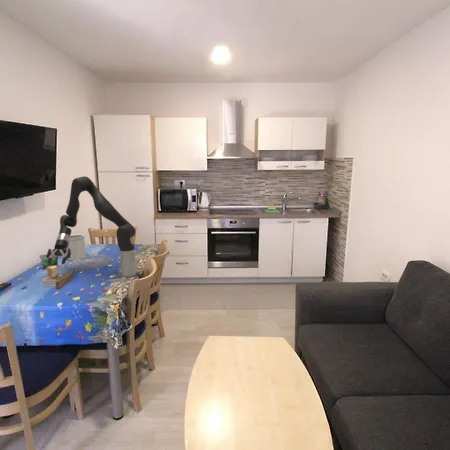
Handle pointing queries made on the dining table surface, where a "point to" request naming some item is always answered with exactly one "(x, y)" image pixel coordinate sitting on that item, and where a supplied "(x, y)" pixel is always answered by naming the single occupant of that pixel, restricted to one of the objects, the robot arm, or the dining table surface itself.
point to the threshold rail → (64, 280)
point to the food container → (45, 261)
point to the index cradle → (50, 282)
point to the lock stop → (52, 273)
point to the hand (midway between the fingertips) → (56, 263)
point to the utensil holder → (77, 247)
